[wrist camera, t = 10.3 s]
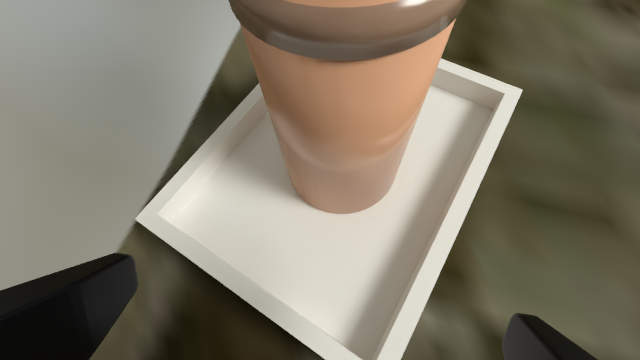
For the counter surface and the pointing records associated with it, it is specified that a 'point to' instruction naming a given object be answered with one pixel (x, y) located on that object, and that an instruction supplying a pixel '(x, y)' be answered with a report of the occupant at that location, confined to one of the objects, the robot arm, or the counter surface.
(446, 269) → the counter surface
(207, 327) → the counter surface
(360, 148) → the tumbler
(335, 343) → the tray
